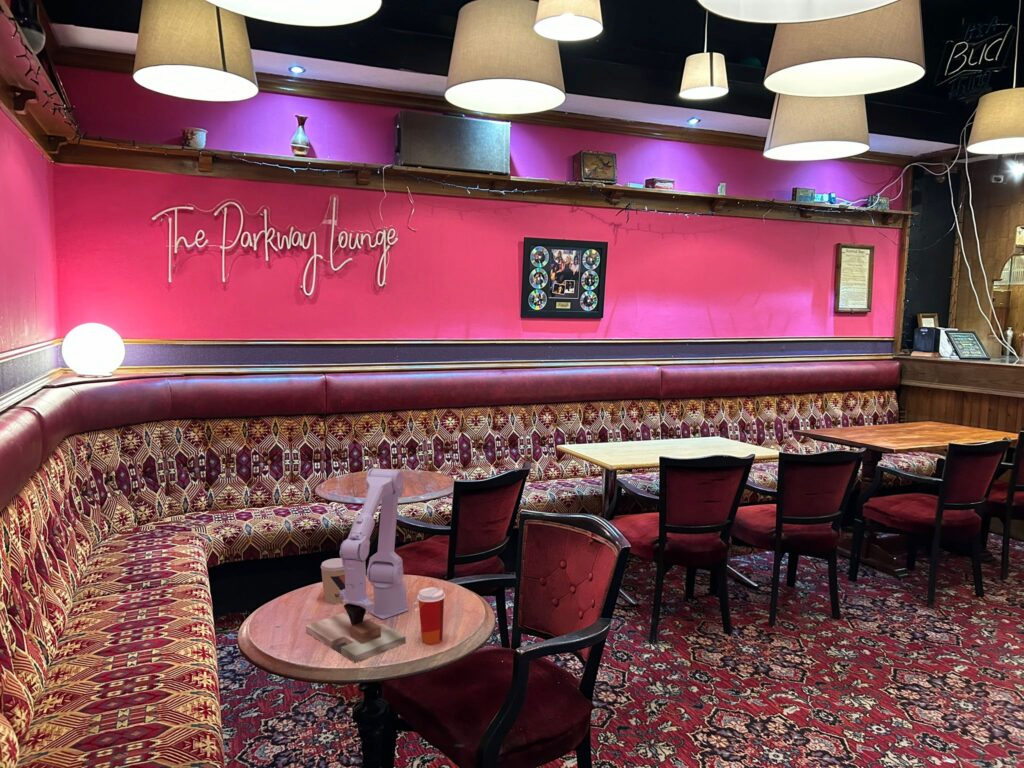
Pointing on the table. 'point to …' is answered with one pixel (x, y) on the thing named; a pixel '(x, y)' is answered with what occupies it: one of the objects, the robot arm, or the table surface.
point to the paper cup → (431, 615)
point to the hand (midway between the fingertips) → (357, 628)
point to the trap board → (339, 639)
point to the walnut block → (365, 631)
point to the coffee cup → (333, 580)
